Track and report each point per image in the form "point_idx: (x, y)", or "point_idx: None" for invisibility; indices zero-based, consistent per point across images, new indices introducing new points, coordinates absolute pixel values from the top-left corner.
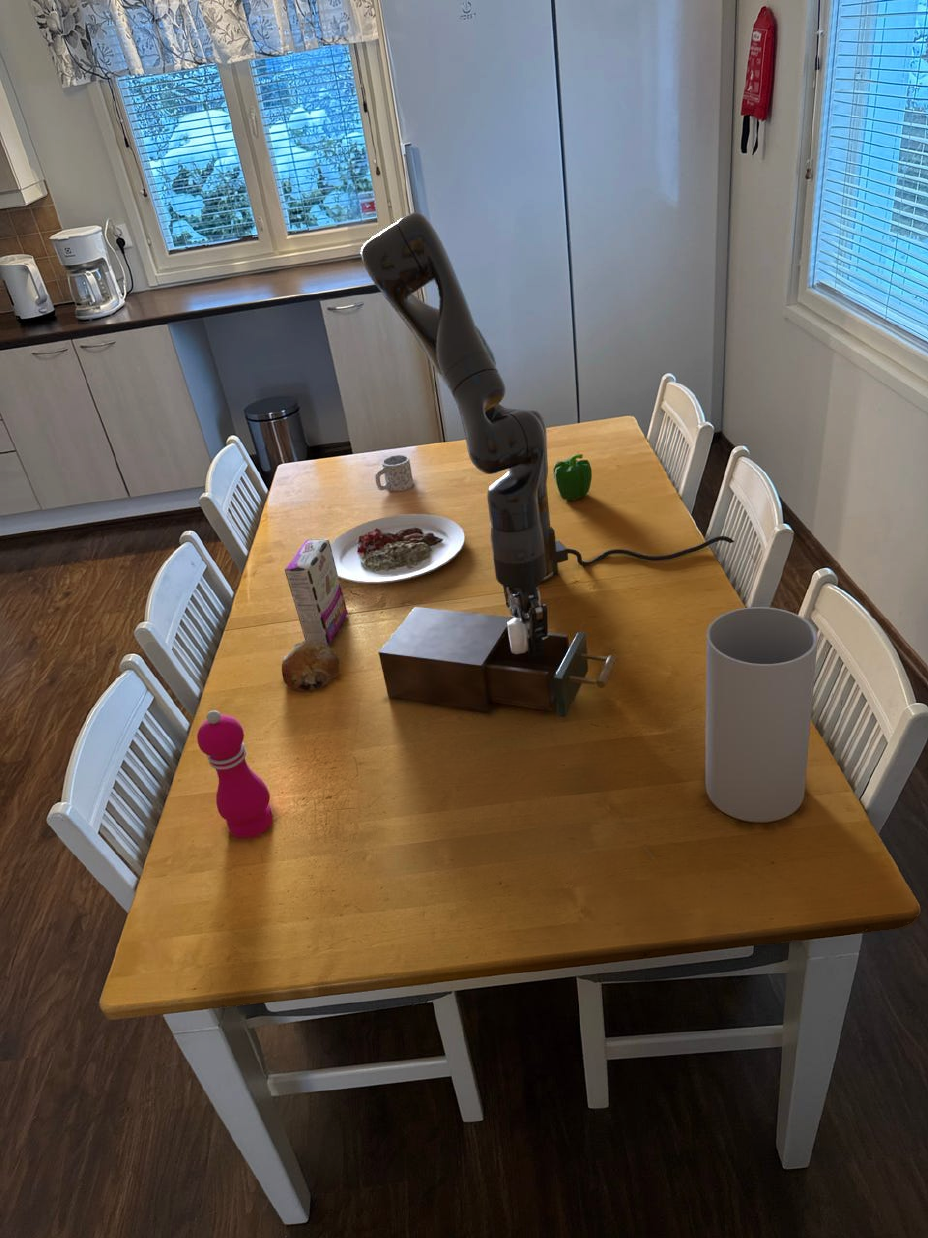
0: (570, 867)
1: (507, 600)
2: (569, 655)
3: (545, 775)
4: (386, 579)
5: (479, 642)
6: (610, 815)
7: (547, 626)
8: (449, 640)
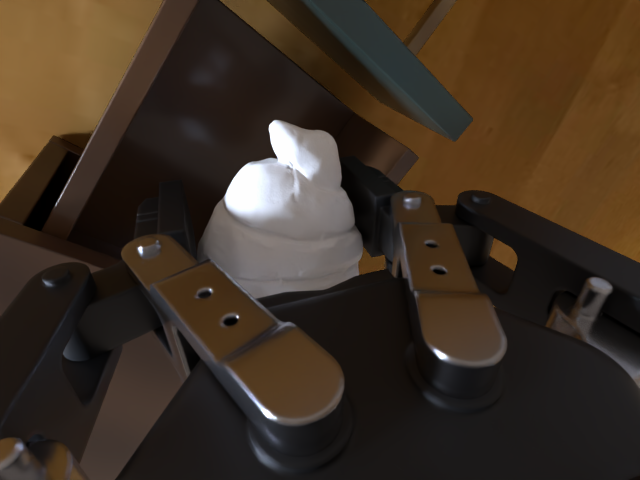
0: (637, 177)
1: (111, 377)
2: (374, 38)
3: (490, 169)
4: None
5: None
6: (625, 89)
7: (551, 222)
8: (138, 424)
